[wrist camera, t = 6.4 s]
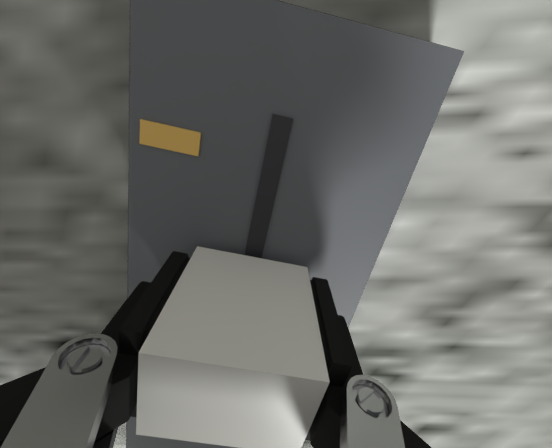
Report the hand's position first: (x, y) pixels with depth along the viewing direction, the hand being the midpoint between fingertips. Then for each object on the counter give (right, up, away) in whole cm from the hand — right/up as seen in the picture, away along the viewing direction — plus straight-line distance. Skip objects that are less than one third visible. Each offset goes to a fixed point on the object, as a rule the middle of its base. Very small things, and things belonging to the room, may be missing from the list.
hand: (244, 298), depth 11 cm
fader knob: (0, 0, +1) cm, 1 cm away
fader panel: (0, 0, +4) cm, 4 cm away
